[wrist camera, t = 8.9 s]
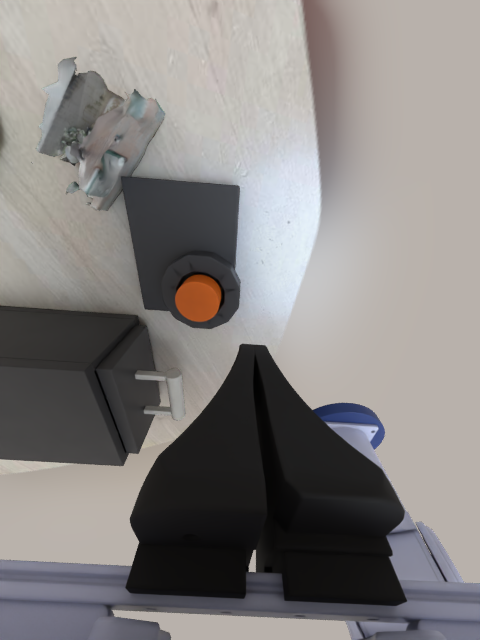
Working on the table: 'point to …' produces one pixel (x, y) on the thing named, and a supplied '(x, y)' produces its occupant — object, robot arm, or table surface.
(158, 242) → the control block
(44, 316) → the box
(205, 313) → the button
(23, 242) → the table surface
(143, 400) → the drawer
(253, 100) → the table surface
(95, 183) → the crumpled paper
